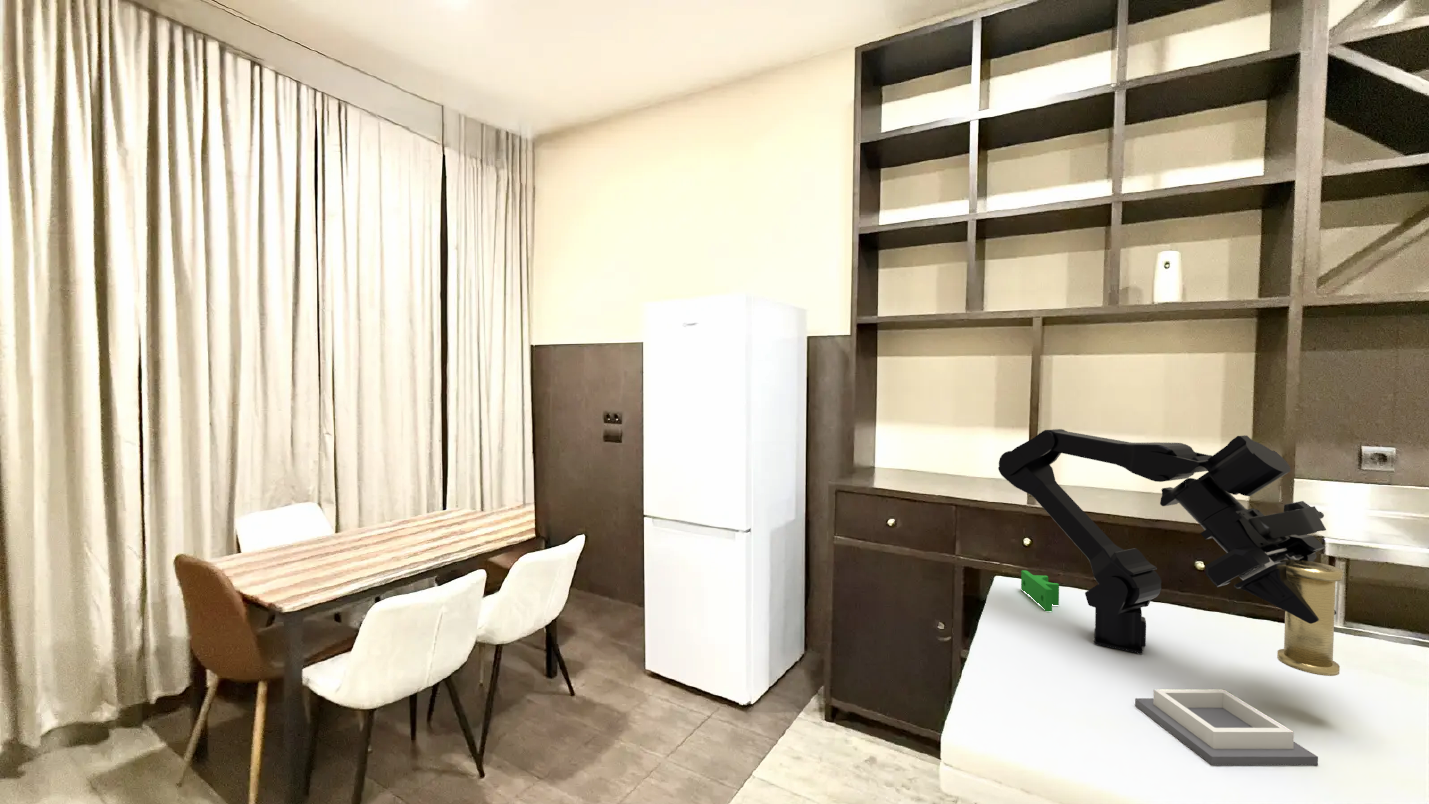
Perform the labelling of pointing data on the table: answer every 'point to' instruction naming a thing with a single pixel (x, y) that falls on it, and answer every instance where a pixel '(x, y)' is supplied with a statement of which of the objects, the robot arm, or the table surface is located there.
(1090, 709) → the table surface
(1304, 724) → the table surface
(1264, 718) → the socket plate
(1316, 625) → the brass fitting
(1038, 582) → the green notched block
